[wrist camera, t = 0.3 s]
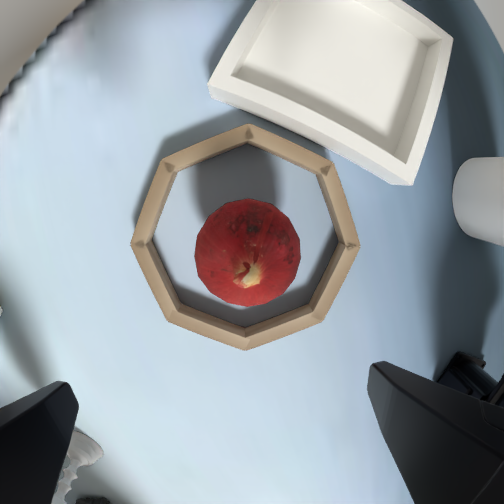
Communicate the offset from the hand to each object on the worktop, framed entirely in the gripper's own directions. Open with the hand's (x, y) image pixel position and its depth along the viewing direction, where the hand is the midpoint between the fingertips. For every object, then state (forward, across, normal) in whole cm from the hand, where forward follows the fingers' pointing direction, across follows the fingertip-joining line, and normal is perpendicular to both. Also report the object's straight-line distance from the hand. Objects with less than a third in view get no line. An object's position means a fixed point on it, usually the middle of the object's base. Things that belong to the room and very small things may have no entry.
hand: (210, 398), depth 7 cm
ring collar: (+14, -2, -2) cm, 14 cm away
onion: (+14, -2, -2) cm, 14 cm away
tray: (+14, -10, -14) cm, 22 cm away
